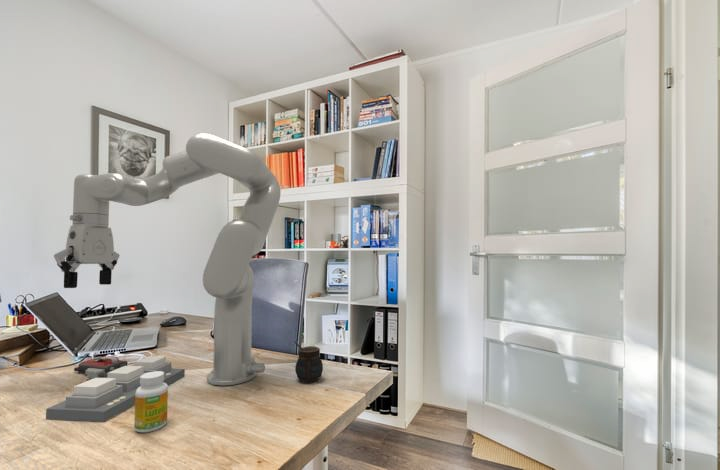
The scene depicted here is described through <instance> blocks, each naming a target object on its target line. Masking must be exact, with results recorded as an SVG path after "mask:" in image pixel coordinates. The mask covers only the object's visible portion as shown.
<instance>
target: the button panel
mask: <svg viewBox="0 0 720 470" xmlns="http://www.w3.org/2000/svg"><path fill="white" fill-rule="evenodd" d="M154 371H162V372H164V381H163V382H164V383H166V384H167V385H168V386H170V385H171V384H174V383H176V382H177V381H179V380H181V379H182V378H184V377H185V372H186V371H185V368H172V362H171V361H170V362H169V361H166V364H165V365H163V366H160V367H158V368H156V369H154V370H144V374H145V373H148V372H154ZM140 386H141V385H140V376H139V377H137V378H135V379H133V380H131V381H128V382H116V388H114V389H111V390H109V391H107V392H105V393H103V394H101V395H99V396H96V397H86V396H74V393H72V394H69V395H67V396H65V399H64V400H63V401H60V402H59V403H56V404H55V405H51V406H49V407H47V408H46V410H45V411H46V412H45V419H46V420H57V421H58V420H59V421H62V420H63V421H75V422H76V421H78V422H79V421H80V422H93V423H94V422H95V423H98V422H99V423H104V422H106V421H109V420H111V419H112V418H115V416H117V415H119V414H121V413H122V412H124V411H126V410H128V409H129V408H131V407H134V406H135V393H136V390H137V389H138V388H139V387H140Z"/></svg>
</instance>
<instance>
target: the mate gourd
mask: <svg viewBox="0 0 720 470" xmlns="http://www.w3.org/2000/svg"><path fill="white" fill-rule="evenodd" d="M293 342H294V344H296V346H297V347H298V350H297V351H298V358H297V361H296V363H295V369H294V370H295V374H296V378H297V379H298V380H299V381H300V382H302V383H306V384H308V383H315V382H317V381H318V380H319V379H320V378H321V376H322V373H323V370H324V364H323V362H322V359H321V356H320V352H321V349H320V347H318V346H315V345H313V346H312V345H310V346H303V347H301V346H300V344H298V343H297V341H294V340H293Z"/></svg>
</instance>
